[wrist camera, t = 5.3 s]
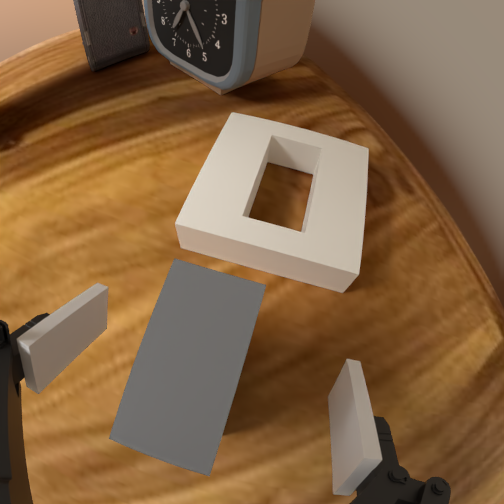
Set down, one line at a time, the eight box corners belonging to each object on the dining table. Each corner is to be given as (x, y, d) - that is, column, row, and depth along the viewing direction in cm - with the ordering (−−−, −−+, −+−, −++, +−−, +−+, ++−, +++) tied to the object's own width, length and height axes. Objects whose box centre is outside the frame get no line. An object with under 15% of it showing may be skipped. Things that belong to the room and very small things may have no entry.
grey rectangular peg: (176, 422, 19) (109, 438, 7) (202, 342, 21) (174, 258, 10) (219, 436, 19) (209, 476, 7) (244, 354, 21) (266, 285, 10)
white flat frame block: (180, 247, 25) (174, 223, 22) (230, 138, 31) (231, 112, 28) (342, 293, 24) (359, 274, 21) (357, 172, 30) (368, 148, 27)
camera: (131, 44, 48) (113, -43, 33) (154, 52, 38) (133, -64, 23) (77, 65, 45) (55, -24, 30) (84, 79, 35) (54, -41, 20)
